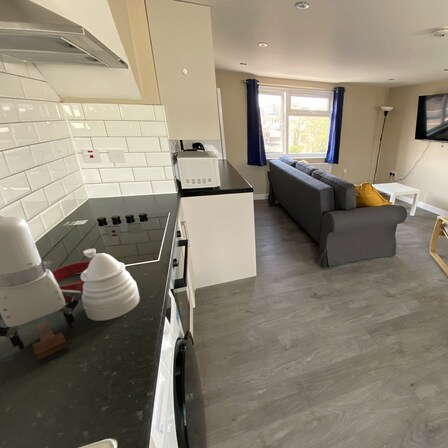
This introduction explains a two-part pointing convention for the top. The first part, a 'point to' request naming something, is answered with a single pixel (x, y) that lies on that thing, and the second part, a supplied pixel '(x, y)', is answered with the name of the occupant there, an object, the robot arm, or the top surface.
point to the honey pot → (107, 287)
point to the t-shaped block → (49, 344)
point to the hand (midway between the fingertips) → (47, 335)
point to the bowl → (69, 271)
